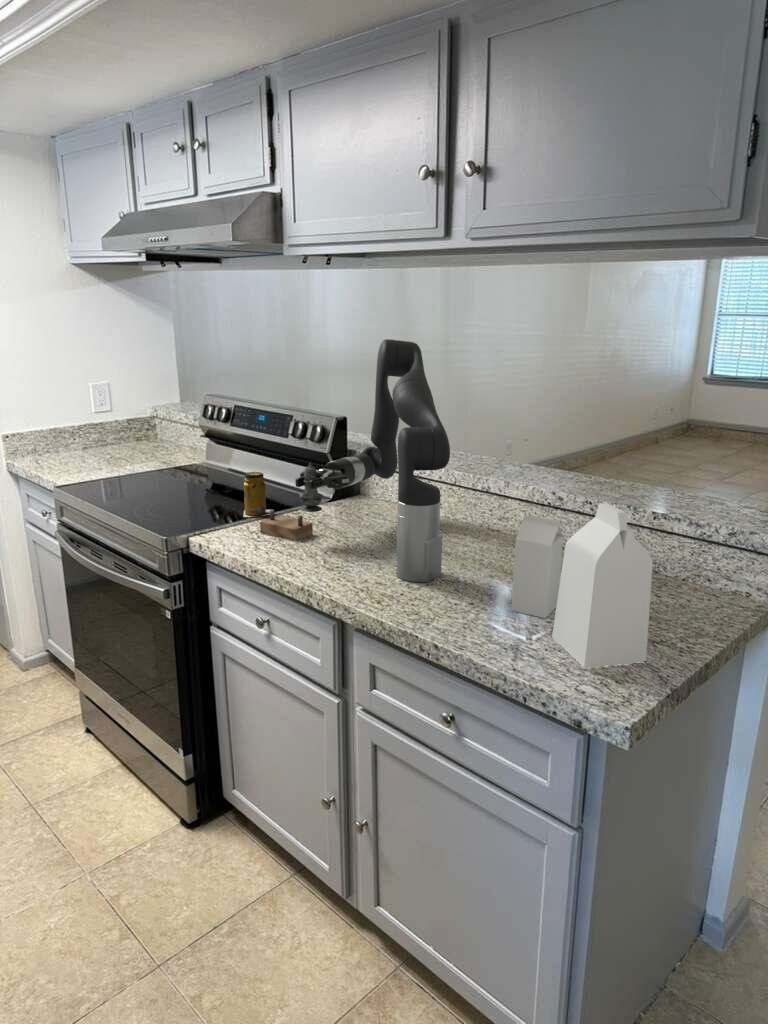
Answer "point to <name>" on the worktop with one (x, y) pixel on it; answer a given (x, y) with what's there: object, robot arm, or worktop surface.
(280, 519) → the walnut stand
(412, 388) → the robot arm
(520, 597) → the milk carton
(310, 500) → the salt shaker
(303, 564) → the worktop surface
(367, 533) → the worktop surface
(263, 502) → the condiment
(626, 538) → the milk
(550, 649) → the worktop surface
